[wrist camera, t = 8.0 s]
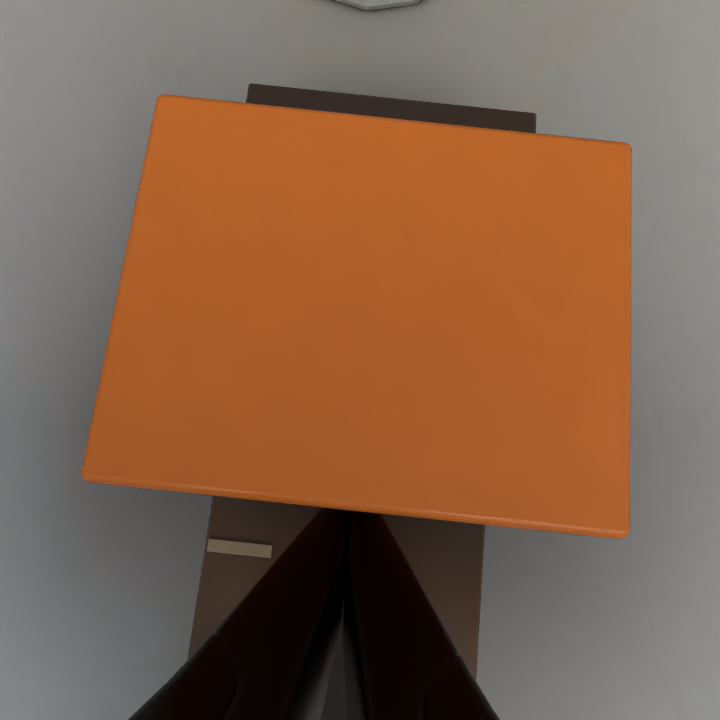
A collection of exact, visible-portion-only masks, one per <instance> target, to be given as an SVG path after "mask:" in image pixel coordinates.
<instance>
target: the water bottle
mask: <svg viewBox="0 0 720 720" xmlns="http://www.w3.org/2000/svg"><path fill="white" fill-rule="evenodd" d="M336 1H339V2H342V3H345V4H348V5H351V6H354V7H357V8H360V9H363V10H366V11H367V10H375V9H383V8H390V7H398V6H406V5H413V4H416V3H418V2H419V1H421V0H336Z"/></svg>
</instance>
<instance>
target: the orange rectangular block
mask: <svg viewBox="0 0 720 720" xmlns="http://www.w3.org/2000/svg"><path fill="white" fill-rule="evenodd" d="M631 168H632V149H631V146H630V145H629V144H627V143H623V142H613V141H604V140H594V139H585V138H575V137H566V136H556V135H547V134H537V133H528V132H518V131H509V130H499V129H490V128H480V127H470V126H461V125H451V124H442V123H432V122H423V121H413V120H404V119H394V118H385V117H375V116H366V115H356V114H347V113H337V112H327V111H318V110H308V109H299V108H289V107H280V106H270V105H261V104H251V103H242V102H232V101H223V100H213V99H204V98H194V97H185V96H175V95H165V94H163V95H159V96H158V98H157V100H156V105H155V110H154V115H153V120H152V125H151V130H150V135H149V140H148V144H147V149H146V154H145V159H144V164H143V169H142V174H141V179H140V184H139V189H138V194H137V199H136V204H135V209H134V213H133V218H132V223H131V228H130V233H129V238H128V243H127V248H126V253H125V258H124V263H123V268H122V273H121V278H120V283H119V287H118V292H117V297H116V302H115V307H114V312H113V317H112V322H111V327H110V332H109V337H108V342H107V347H106V352H105V356H104V361H103V366H102V371H101V376H100V381H99V386H98V391H97V396H96V401H95V406H94V411H93V416H92V421H91V425H90V430H89V435H88V440H87V445H86V450H85V455H84V460H83V465H82V470H81V474H82V478H83V479H84V480H86V481H88V482H90V483H100V484H109V485H118V486H128V487H137V488H146V489H156V490H165V491H174V492H184V493H193V494H202V495H212V496H221V497H230V498H240V499H249V500H258V501H268V502H277V503H286V504H296V505H305V506H315V507H324V508H333V509H343V510H352V511H361V512H371V513H380V514H389V515H399V516H408V517H417V518H427V519H436V520H445V521H455V522H464V523H473V524H483V525H492V526H501V527H511V528H520V529H529V530H539V531H548V532H557V533H567V534H576V535H585V536H595V537H604V538H613V539H621V538H624V537H627V536H628V533H629V517H630V342H631Z"/></svg>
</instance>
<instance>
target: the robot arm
mask: <svg viewBox="0 0 720 720" xmlns="http://www.w3.org/2000/svg"><path fill="white" fill-rule="evenodd" d="M343 604H344V609H343ZM342 614H343V626H342V637H343V664H344V688H345V711H346V720H500V719H499V718H498V716H497V715H496V713H495V712H494V710H493V709H492V707H491V706H490V704H489V702H488V701H487V699H486V697H485V696H484V694H483V692H482V691H481V689H480V687H479V686H478V684H477V682H476V681H475V679H474V677H473V676H472V674H471V672H470V670H469V669H468V667H467V665H466V663H465V661H464V660H463V658H462V656H460V655H459V652H458V650H457V648H456V646H455V645H454V643H453V641H452V639H451V637H450V636H449V634H448V632H447V630H446V629H445V627H444V625H443V623H442V621H441V620H440V618H439V616H438V614H437V612H436V611H435V609H434V607H433V605H432V603H431V602H430V600H429V598H428V596H427V594H426V593H425V591H424V589H423V587H422V585H421V584H420V582H419V580H418V578H417V577H416V575H415V573H414V571H413V569H412V568H411V566H410V564H409V562H408V560H407V559H406V557H405V555H404V553H403V551H402V550H401V548H400V546H399V544H398V542H397V541H396V539H395V537H394V535H393V533H392V532H391V530H390V528H389V526H388V524H387V523H386V521H385V519H384V517H383V516H382V514H380V513H371V512H361V511H352V510H343V509H333V508H324V507H322V508H321V509H320V510H319V511H318V512H317V513H316V514H315V516H314V517H313V518H312V519H311V520H310V521H309V523H308V524H307V525H306V526H305V527H304V528H303V529H302V531H301V532H300V533H299V534H298V535H297V536H296V537H295V539H294V540H293V541H292V542H291V543H290V544H289V546H288V547H287V548H286V549H285V550H284V551H283V552H282V554H281V555H280V556H279V557H278V558H277V559H276V561H275V562H274V563H273V564H272V565H271V566H270V567H269V569H268V570H267V571H266V572H265V573H264V574H263V576H262V577H261V578H260V579H259V580H258V581H257V582H256V584H255V585H254V586H253V587H252V588H251V589H250V590H249V592H248V593H247V594H246V595H245V596H244V597H243V599H242V600H241V601H240V602H239V603H238V604H237V605H236V607H235V608H234V609H233V610H232V611H231V612H230V614H229V615H228V616H227V617H226V618H225V619H224V620H223V622H222V623H221V624H220V625H219V626H218V627H217V629H216V630H215V632H214V633H215V634H214V633H212V634H210V636H209V637H208V638H207V639H206V640H205V641H204V642H203V644H202V645H201V646H200V647H199V648H198V649H197V651H196V652H195V653H194V654H193V655H192V656H191V657H190V658H189V659H188V660H187V662H186V663H185V664H184V665H183V666H182V667H181V668H180V669H179V670H178V671H177V672H176V673H175V674H174V676H173V677H172V678H171V679H170V680H169V681H168V682H167V683H166V684H165V685H164V686H163V687H162V688H161V689H159V690H158V691H157V692H156V693H155V694H154V695H153V696H152V697H151V698H150V699H149V700H148V701H147V702H146V703H145V704H144V705H143V706H142V707H141V708H140V709H139V710H138V711H137V712H136V713H134V714H133V715H132V716H131V717H130V718H129V719H128V720H320V719H321V715H322V710H323V706H324V701H325V697H326V693H327V688H328V684H329V679H330V675H331V671H332V666H333V662H334V657H335V653H336V649H337V644H338V640H339V634H340V629H341V622H342Z"/></svg>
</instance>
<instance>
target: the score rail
mask: <svg viewBox="0 0 720 720" xmlns="http://www.w3.org/2000/svg"><path fill="white" fill-rule="evenodd" d="M246 103H251V104H261V105H270V106H280V107H289V108H299V109H308V110H318V111H327V112H337V113H347V114H356V115H366V116H375V117H385V118H394V119H404V120H413V121H423V122H432V123H442V124H451V125H461V126H470V127H480V128H490V129H499V130H509V131H518V132H528V133H536V114H535V113H527V112H518V111H508V110H499V109H489V108H480V107H470V106H460V105H451V104H441V103H432V102H422V101H413V100H403V99H394V98H384V97H375V96H365V95H355V94H346V93H336V92H327V91H317V90H308V89H298V88H289V87H279V86H270V85H260V84H249V87H248V93H247V99H246ZM321 508H322V507H315V506H305V505H296V504H286V503H277V502H268V501H258V500H249V499H240V498H230V497H221V496H213V498H212V504H211V511H210V517H209V524H208V530H207V537H206V543H205V550H204V556H203V563H202V569H201V576H200V582H199V589H198V595H197V602H196V608H195V615H194V621H193V628H192V634H191V641H190V647H189V653H188V659H189V658H190V657H191V656H192V655H193V654H194V653H195V652H196V651H197V649H198V648H199V647H200V646H201V645H202V644H203V642H204V641H205V640H206V639H207V638H208V637H209V636H210V634H212V633H214V632H215V630H216V629H217V627H218V626H219V625H220V624H221V623H222V622H223V620H224V619H225V618H226V617H227V616H228V615H229V614H230V612H231V611H232V610H233V609H234V608H235V607H236V605H237V604H238V603H239V602H240V601H241V600H242V599H243V597H244V596H245V595H246V594H247V593H248V592H249V590H250V589H251V588H252V587H253V586H254V585H255V584H256V582H257V581H258V580H259V579H260V578H261V577H262V576H263V574H264V573H265V572H266V571H267V570H268V569H269V567H270V566H271V565H272V564H273V563H274V562H275V561H276V559H277V558H278V557H279V556H280V555H281V554H282V552H283V551H284V550H285V549H286V548H287V547H288V546H289V544H290V543H291V542H292V541H293V540H294V539H295V537H296V536H297V535H298V534H299V533H300V532H301V531H302V529H303V528H304V527H305V526H306V525H307V524H308V523H309V521H310V520H311V519H312V518H313V517H314V516H315V514H316V513H317V512H318V511H319V510H320V509H321ZM382 516H383V517H384V519H385V521H386V523H387V524H388V526H389V528H390V530H391V532H392V533H393V535H394V537H395V539H396V541H397V542H398V544H399V546H400V548H401V550H402V551H403V553H404V555H405V557H406V559H407V560H408V562H409V564H410V566H411V568H412V569H413V571H414V573H415V575H416V577H417V578H418V580H419V582H420V584H421V585H422V587H423V589H424V591H425V593H426V594H427V596H428V598H429V600H430V602H431V603H432V605H433V607H434V609H435V611H436V612H437V614H438V616H439V618H440V620H441V621H442V623H443V625H444V627H445V629H446V630H447V632H448V634H449V636H450V637H451V639H452V641H453V643H454V645H455V646H456V648H457V650H458V652H459V655H460V656H462V658H463V660H464V661H465V663H466V665H467V667H468V669H469V670H470V672H471V674H472V676H473V677H474V679H475V681H476V672H477V654H478V637H479V619H480V602H481V584H482V566H483V549H484V531H485V525H483V524H473V523H464V522H455V521H445V520H436V519H427V518H417V517H408V516H399V515H389V514H382ZM343 609H344V604H343ZM342 626H343V614H342V622H341V629H340V634H339V640H338V644H337V649H336V653H335V657H334V662H333V666H332V671H331V675H330V679H329V684H328V688H327V693H326V697H325V701H324V706H323V710H322V715H321V719H320V720H346V711H345V688H344V664H343V637H342ZM214 634H215V633H214Z"/></svg>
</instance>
